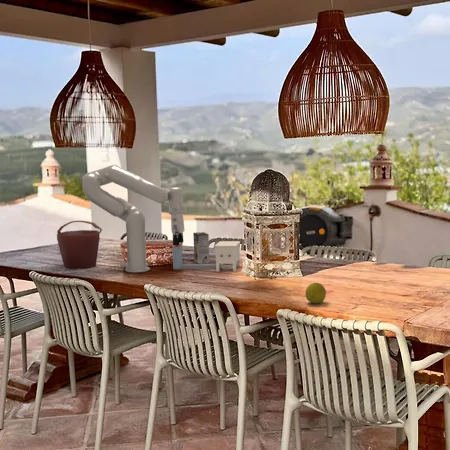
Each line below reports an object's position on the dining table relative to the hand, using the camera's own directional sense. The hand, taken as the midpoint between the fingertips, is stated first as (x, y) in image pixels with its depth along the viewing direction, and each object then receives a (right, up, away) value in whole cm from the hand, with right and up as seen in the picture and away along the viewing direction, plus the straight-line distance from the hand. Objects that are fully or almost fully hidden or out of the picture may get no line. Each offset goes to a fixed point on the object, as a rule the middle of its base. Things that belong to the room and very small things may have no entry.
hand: (178, 244), depth 335 cm
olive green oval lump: (+60, -21, -83) cm, 104 cm away
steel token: (+25, -13, -3) cm, 29 cm away
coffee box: (+11, -11, +19) cm, 24 cm away
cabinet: (+26, -13, -3) cm, 29 cm away
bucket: (-54, -13, +15) cm, 57 cm away
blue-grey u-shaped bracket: (+9, -13, 0) cm, 15 cm away
